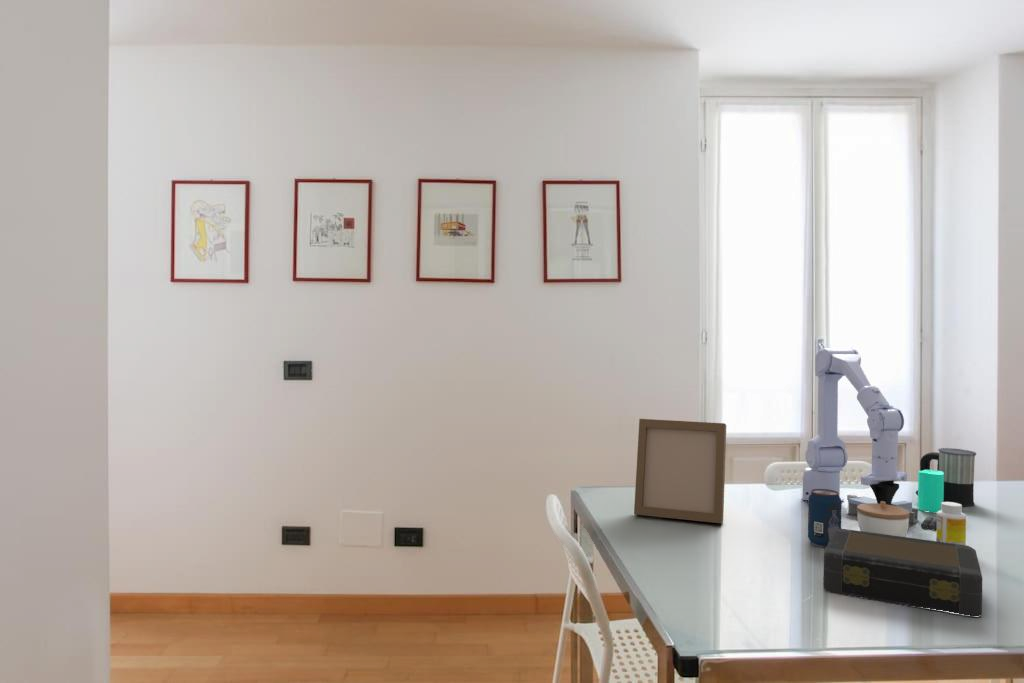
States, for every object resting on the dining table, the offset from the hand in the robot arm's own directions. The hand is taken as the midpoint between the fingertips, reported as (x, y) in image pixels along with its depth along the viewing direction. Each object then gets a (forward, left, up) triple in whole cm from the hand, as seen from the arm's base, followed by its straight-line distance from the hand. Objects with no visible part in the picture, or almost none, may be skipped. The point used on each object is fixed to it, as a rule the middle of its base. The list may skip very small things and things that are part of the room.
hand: (883, 511), depth 176 cm
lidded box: (-3, +6, 0) cm, 7 cm away
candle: (+6, +26, -4) cm, 27 cm away
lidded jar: (+3, -15, -4) cm, 16 cm away
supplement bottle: (+16, -11, -4) cm, 19 cm away
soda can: (-7, -25, -4) cm, 26 cm away
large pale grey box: (-2, +9, -4) cm, 10 cm away
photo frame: (-43, -23, -4) cm, 49 cm away
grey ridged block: (+10, +9, -2) cm, 14 cm away
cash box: (+11, -44, -4) cm, 46 cm away
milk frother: (+9, +37, -4) cm, 38 cm away
